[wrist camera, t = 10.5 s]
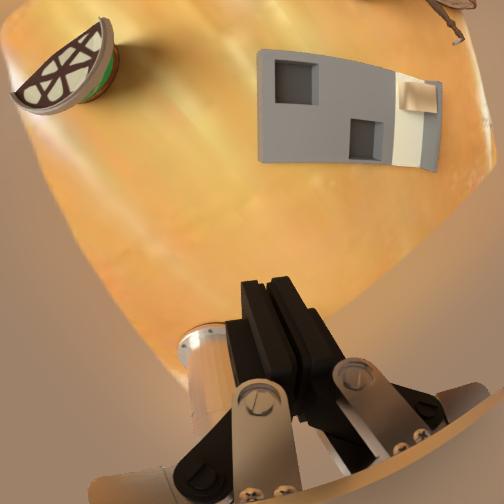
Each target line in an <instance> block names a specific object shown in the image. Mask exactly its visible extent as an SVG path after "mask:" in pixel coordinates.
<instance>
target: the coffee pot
mask: <svg viewBox="0 0 504 504" xmlns="http://www.w3.org/2000/svg"><path fill="white" fill-rule="evenodd" d="M426 1H427V2H428V3H429V5H430V6H431V7H432V8H433V9H434V11H436V12H437V13H438V14H439V15H440V16H441V17H442V18H443V19H444V20H445V21H446V22H447V26H448V27H450V28H452V29H453V30H454V32H455V34H456V35H457V36H458V37H459V38H460V39H458V40H456V41H454V42H453V43H452V44H453V45H457V44H459V43H461V42H463V41H464V40H465V38H464V36H463V34H462V33H461V31H460V30H459V29H458V28H457V27H456V25H455V22H454V21H453V20H451V19H450V18H449V16H448V15H447V13H446V12H445V10H444V9H443V7H442V6H441V5H440V4H439V3H438V2H437V1H436V0H426ZM459 40H461V41H460V42H458V43H456V42H457V41H459ZM454 43H455V44H454Z"/></svg>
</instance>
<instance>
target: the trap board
mask: <svg viewBox="0 0 504 504" xmlns="http://www.w3.org/2000/svg"><path fill="white" fill-rule="evenodd" d="M397 82H419V83H424V84H429V85H434V86H435V88H436V103H437V113H431V112H423V111H414V110H404V109H399V98H398V85H397ZM257 113H258V161H260V162H261V163H301V162H320V163H361V164H380V165H395V166H408V167H419V168H422V169H425V170H428V171H430V172H434V173H437V167H438V159H439V149H440V138H441V123H442V83H441V82H439V81H423V80H420V79H417V78H414V77H411V76H408V75H405V74H402V73H399V72H395V71H392V70H388V69H385V68H381V67H377V66H373V65H369V64H365V63H361V62H356V61H351V60H346V59H341V58H336V57H330V56H324V55H317V54H310V53H302V52H293V51H283V50H269V49H261V50H260V51H259V52H258V53H257Z"/></svg>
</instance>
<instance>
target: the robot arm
mask: <svg viewBox="0 0 504 504" xmlns="http://www.w3.org/2000/svg"><path fill="white" fill-rule="evenodd" d="M241 303H242V319H238V320H230V321H225V324H217V323H214V324H206V325H201V326H198V327H196V328H193V329H192V330H190V331H188V332H187V333H186V334H185V335H184V336H183V337H182V338H181V340H180V341H179V344H178V349H177V352H178V358H179V361H180V362H181V364H182V365H183V366H184V367H185V368H186V369H187V370H188V385H189V398H190V408H191V419H192V431H193V436H194V440H195V443H196V444H197V445H196V446H195V447H194V448H193V449H192V450H191V451H190V452H189V453H188V454H187V455H186V456H185V457H184V458H183V459H182V460H181V461H180V462H179V463H178V464H177V465H174V466H170V467H166V468H163V467H162V466H160V467H156V468H151V469H147V470H141V471H136V472H130V473H124V474H118V475H111V476H103V477H99V478H97V479H95V480H94V481H93V482H91V484H90V486H89V488H88V498H89V502H90V504H504V387H502V388H501V389H499V390H497V391H496V392H494V393H493V394H491V395H490V393H489V392H488V389H487V388H486V387H485V386H484V385H482V384H481V383H477V382H474V383H470V384H467V385H463V386H460V387H457V388H453V389H450V390H446V391H442V392H439V393H436V395H435V396H432V395H430V394H426V393H423V392H420V391H416V390H412V389H409V388H405V387H402V386H399V385H396V384H393V383H390V382H389V381H388V380H387V379H386V378H385V377H384V376H383V374H382V373H381V372H380V371H379V370H378V369H377V368H376V367H375V366H374V365H373V364H372V363H371V362H369V361H367V360H365V359H361V358H348V359H346V358H345V356H344V355H343V353H342V352H341V350H340V348H339V347H338V345H337V343H336V342H335V340H334V338H333V337H332V335H331V333H330V332H329V330H328V329H327V327H326V326H325V323H324V322H323V320H322V319H321V317H320V315H319V314H318V312H317V311H316V309H314V308H309V309H307V307H306V306H305V304H304V302H303V301H302V299H301V297H300V295H299V294H298V292H297V290H296V289H295V287H294V285H293V284H292V282H291V280H290V278H289V277H288V276H284V277H277V278H272V280H271V282H269V283H267V286H266V288H265V286H264V284H263V283H261V284H258V281H257V280H253V281H244V282H241ZM296 415H297V416H298V419H299V421H300V423H301V422H305V421H307V422H308V424H309V426H312V427H314V428H315V429H316V432H317V434H318V436H319V438H320V439H321V441H322V442H323V444H324V445H325V447H326V448H327V450H328V452H329V453H330V455H331V456H332V458H333V459H334V461H335V462H336V464H337V465H338V467H339V469H340V470H341V472H342V473H343V475H344V476H345V477H344V478H342V479H339V480H336V481H333V482H330V483H327V484H324V485H321V486H318V487H314V488H311V489H307V490H304V491H302V484H301V478H300V472H299V466H298V459H297V453H296V447H295V441H294V435H293V429H292V424H291V423H292V419H293V416H296Z"/></svg>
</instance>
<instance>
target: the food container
mask: <svg viewBox="0 0 504 504" xmlns="http://www.w3.org/2000/svg"><path fill="white" fill-rule="evenodd" d="M98 19H99V21H100V22H98V23H97V24H95V25H93V26H92V27H91V28H90V29H88V30H87V31H86V32H84V33H83V34H81V35H80V36H78V37H77V38H76V39H74V40H73V41H71V42H70V43H69V44H67V45H66V46H64V47H63V48H62V49H60V50H59V51H57V52H56V53H55V54H54V55H52V56H51V57H50V58H49V59H48V60H47V61H46V62H45V63H44V64H43V65H42V66H41V67H40V68H39V69H38V70H37V71H36V72H35V73H34V74H33V75H32V76H31V77H30V78H29V79H28V80H27V81H26V82H25V83H24V84H23V85H22V86H21V87H20V88H19V89H18V90H17V91H16V92H13V93H9V95H10V97H11V99H12V100H13V101H14V102H15V103H16V104H17V105H18V106H19V107H20V108H22V109H23V110H26V111H28V112H31V113H33V114H37V115H53V114H57V113H60V112H63V111H66V110H67V109H69V108H71V107H73V106H74V105H76V104H81V103H87V102H90V101H92V100H94V99H96V98H98V97H99V96H101V95H102V94H103V93H104V92H105V91H106V90H107V89H108V88H109V87H110V85H111V84H112V82H113V80H114V79H115V76H116V74H117V71H118V67H119V54H118V50H117V48H116V46H115V44H114V33H113V28H112V25H111V22H110V20H109V19H107V18H104V17H102V18H100V17H98Z"/></svg>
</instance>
